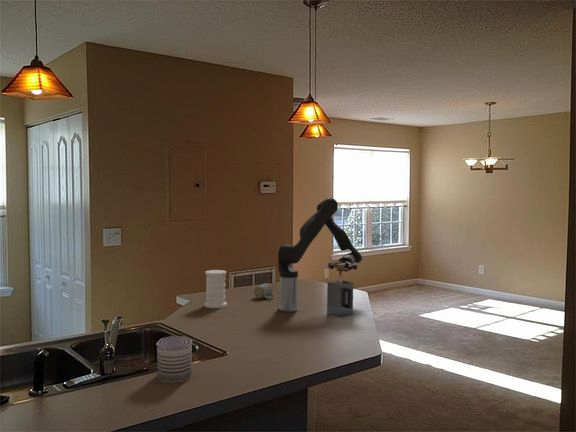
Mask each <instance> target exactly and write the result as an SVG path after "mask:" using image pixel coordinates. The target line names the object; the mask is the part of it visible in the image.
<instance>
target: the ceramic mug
mask: <svg viewBox="0 0 576 432" xmlns="http://www.w3.org/2000/svg"><path fill="white" fill-rule="evenodd" d="M253 294H254V296H255V297H256V298H257V299H261V298H262V299H264V298H265V299H266V300H273V298H274V294H273V289H272V286H271V285H270V284H269V283H267V282H264V283H262V284H260V285H257V286H256V287H255V288H254V290H253Z"/></svg>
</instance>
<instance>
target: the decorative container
mask: <svg viewBox="0 0 576 432" xmlns="http://www.w3.org/2000/svg"><path fill="white" fill-rule="evenodd" d="M204 273H205V274H204V275H206V278H205V280H206V283H205V284H206V285H205V287H206V290H205V293H206V296H205V299H206V302H204V307H205V308H207V309H220V308H221V309H222V308H225V307H227V306H228V303H227V301H226V286H227V285H226V282H225V281H226V275H227V270H222V269H211V270H206V271H205V272H204Z"/></svg>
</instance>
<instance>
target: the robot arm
mask: <svg viewBox="0 0 576 432" xmlns="http://www.w3.org/2000/svg"><path fill="white" fill-rule="evenodd" d="M338 209H339V205H338V201H337V200H336V199H335V198H332V197H329V198H325V199H324V200H323V201H321V202H319V203H318V204H317V206H316V212H315V213H313V215H312V216H310V217H309V218H308V219H307V220H306V221H305V222H304V223H303V225H302V226H300V229H299V240H298V242H297V243H296V244H294V245H293V244H282V245H281V246H280V247H279V249H278V252H277V262H278V273H279V290H278V303H277V304H278V310H280V312H281V311H282V312H286V313H287V312H296V311H298V309H299V308H298V303H299V301H298V300H299V299H298V296H299V293H298V291H299V290H298V289H299V287H298V286H299V272H298V270H297V269H295V268H294V267H293V266H292V265H291V264H293V265H294V264H297V263H299V262H300V261H301V259H302V258H303V256H304V255H305V253H306V251H307V249H308V248H309V246H311V244H312V242H313V241H314V240H315V238H317V236H318V235H319V233H320V232H321V231H322V229H323V228H324V226H326V227H327V228H328V230H329V231H330V233H331V235H332V236H333V237H334V240H335V242H336V244H337V245H338V248H339V250H340V251H341V252H344V251H347V250H349V251H350V252H348V253H347V254H345V255H343V256H341V258H339V259H338V261H335V262H334V261H329V262H328V264H327V266H328V269H330V270H334V269H336V268H337V264H345V271H344V272H348V271H351V270H355V271H356V270H357V269H358V264H359V263H361V262H362V259H363V257H362V254H361V253H360V252H359V251H358V250H357V248H356V247H355V246H354V245H353V244H352V242H351V240H350V238H349V236H348V235H347V234H348V233H347V232H346V231H345V230H344V229H343V228H341V226H339V225H338V224H337V223H336V222H335V221H334V219H333V217H332V216H333V215H335V214H336V213H337V211H338Z"/></svg>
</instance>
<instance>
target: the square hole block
mask: <svg viewBox="0 0 576 432" xmlns="http://www.w3.org/2000/svg"><path fill="white" fill-rule="evenodd" d="M326 285H327V290H326V293H327V294H326V295H327V296H326V314H328V315H330V316H334V317H337V318H342V317H343V318H344V317H349V316H353V315H354V314H353V313H354V282H352V281H348V280H343V279H342V283H339V279H337V280H331V281H327V283H326Z"/></svg>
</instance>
